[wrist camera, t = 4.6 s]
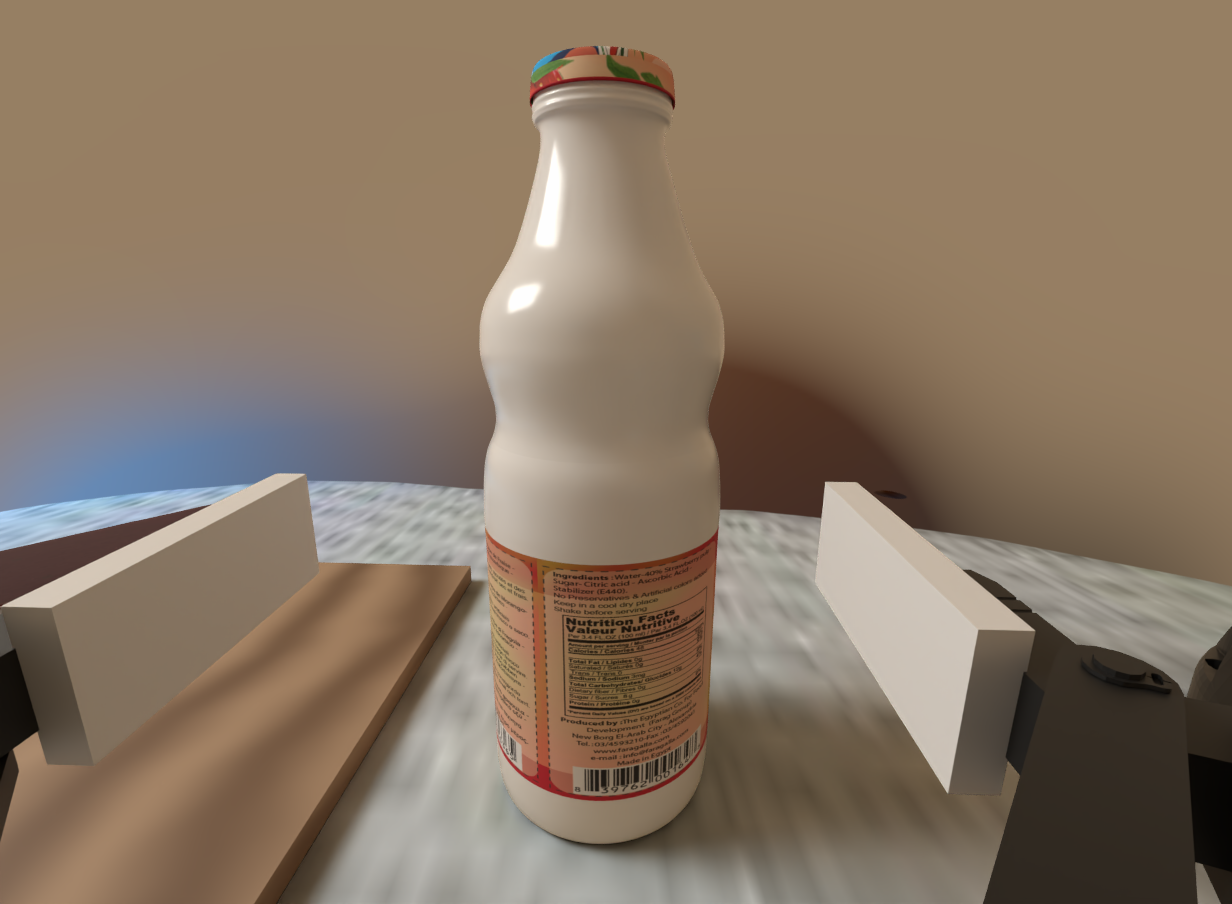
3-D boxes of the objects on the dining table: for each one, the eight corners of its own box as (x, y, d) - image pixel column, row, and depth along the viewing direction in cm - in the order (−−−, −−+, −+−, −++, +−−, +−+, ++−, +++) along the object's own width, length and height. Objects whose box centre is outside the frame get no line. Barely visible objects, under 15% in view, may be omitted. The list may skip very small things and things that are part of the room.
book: (-105, 612, 40) (-121, 569, 39) (218, 530, 54) (212, 497, 53) (-107, 691, 32) (-126, 638, 31) (272, 570, 46) (266, 532, 45)
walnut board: (471, 580, 44) (470, 566, 43) (-203, 1695, 9) (-231, 1659, 8) (238, 574, 44) (236, 560, 44) (-1243, 1586, 9) (-1301, 1549, 9)
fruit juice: (453, 783, 25) (395, 54, 18) (580, 671, 33) (574, 128, 26) (638, 901, 20) (658, -34, 13) (736, 737, 28) (782, 89, 21)
